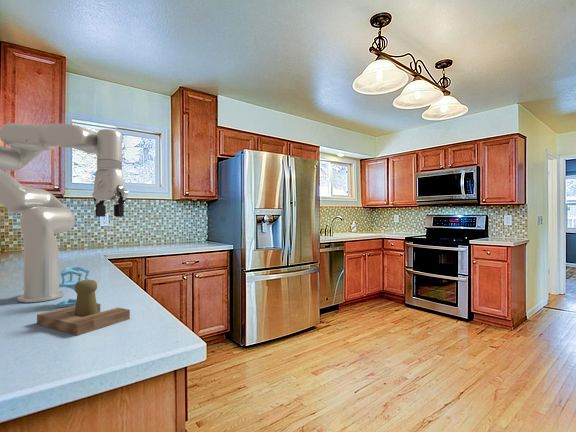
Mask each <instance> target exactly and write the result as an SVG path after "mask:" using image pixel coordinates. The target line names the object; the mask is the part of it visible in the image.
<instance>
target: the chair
mask: <svg viewBox="0 0 576 432" xmlns="http://www.w3.org/2000/svg"><path fill="white" fill-rule="evenodd" d="M90 271H91V270H90V269H85V268H83V267H79V266H74V267H70V266H67V267H65V268H63V269H62V270H61V272H60V276H61V279H62V281H61V283H58V288H68V289H71V290H73V291H74V292H75V293H76V291H75V285H76V283H77V282H79V281H82V276H83V272H84V273H86V274H85V276H84V280H89V273H90ZM67 275H69V280H67V281H66V277H65V276H67ZM73 275H75V276H78V278H77V280H74V276H73ZM76 299H77V298H67V299H65V300H62V301H61V302H59V303H56V304H55V305H54V306H55V309H56V308H57V309H58V308H59V309H60V308H66V307H70V306H75V305H76Z"/></svg>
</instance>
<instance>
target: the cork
mask: <svg viewBox="0 0 576 432" xmlns="http://www.w3.org/2000/svg"><path fill="white" fill-rule="evenodd" d="M97 289H98V282H97V281H96V280H93V279H88V280H85V279H83V280H82V279H81V281H79V282H77V283H76V285H75V291H76V292H75V291H74V292H75V293H76V298H75V299H76V306H75V313H74V315H75V316H79V317H85V316H89V315H92V314H96V313H98V309H97V298H96V291H97Z"/></svg>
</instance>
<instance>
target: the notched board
mask: <svg viewBox="0 0 576 432" xmlns="http://www.w3.org/2000/svg"><path fill="white" fill-rule="evenodd" d="M96 303H97V302H96ZM75 306H76V305H75ZM75 306H69V307H61V308H59V309H58V308H57V309H54V310H49V311H46V312H42V313H37V314H36V324H37V325H40V326H43V327H46V328H50V329H54V330H57V331H61V332H65V333H68V334H72V335H75V336H80V334H81V335H84V334H86V333H89V332H93V331H95V330H99V329H102V328H105V327H108V326H111V325H115V324H118V323H121V322H124V321H127V320H131V319H130V317H131V310H130V309H129V308H128V309H127V308H124V307H115V308H111V309H107V310H103V311H101V303H97V309H98V313H96V314H92V315H89V316H85V317H79V316H75V315H74V313H75Z"/></svg>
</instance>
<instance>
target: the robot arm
mask: <svg viewBox="0 0 576 432" xmlns="http://www.w3.org/2000/svg"><path fill="white" fill-rule="evenodd" d="M0 141H2V142H3V143H4V144H5V145H7V146H9V147H7V146H2V145H0V204H1V206H3V207H4V208H5V209H7V210H8V211H9V212H11V213H13V214H19V215H20V217H19V226H20V230H21V234H22V239H23V240H22V242H23V287H22V290H23V294H21V295H19V296H18V297H17V302H19V303H39V302H47V301H53V300H57V299H59V298H63V296H64V295H65V294H64V291H63V290H59V244H58V240H57V238H56V235H55V234H62V233H66V232H68V231H71V230H72V229H73V227H74V226H75V222H76V221H75V219H76V218H75V216H74V213H73V212H72V211H71V210H70V209H69V208H68V207H67V206H66V205H65V204H64V203H63V202H62V201H60V200H59V199H58V198H57V197H56V196H55V195H54V194H52V193H50V192H49V191H47V190H46V189H42V188H38V187H30V186H25V185H23V184H21V182H19V181H18V180H16V179H15V177H14V176H13V175H11V174H9V173H7V172H16V171H19V170H21V169H23V168H24V167H25V166H27V165H28V164H29V163H30V162H32V161H33V160H34V159H36V158H37V157H38V156H39V155H41V154H42V153H43V152H44V151H53V150H54V149H56V148H58V147H59V148H60V147H61V148H69V149H74V150H77V151H78V150H79V151H81V152H85V153H89V154H91V155H92V154H93V155H96V171H95V176H94V181H93V182H94V184H93V192H92V194H91V195H92V197H93V202H94V205H95V217H97V218H98V217H99V218H100V217H104V218H106V208H107V207H106V205H105V203H106V201H109V200H111V201H112V200H113V202H114V204H113V217H115V218H116V217H117V218H119V217H120V218H121V217H122V218H123V217H125V214H124V213H125V210H124V209H125V204H126V201H127V197H128V194H129V191H128V190H127V189H126V188H125V186H124V185H125V184H124V175H123V135H122V133H121V132H119V131H118V130H115V129H108V128H107V129H106V128H104V129H103V128H101V129H99V130H98V131H97V132H96V131H93V130H91V129H88V128H86V127H82V126H79V125H77V124H71V123H70V124H68V123H57V122H56V123H55V122H53V123H48V124H43V125H42V124H33V123H20V122H19V123H18V122H9V123H5V124H3V125H1V127H0ZM6 171H7V172H6Z"/></svg>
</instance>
